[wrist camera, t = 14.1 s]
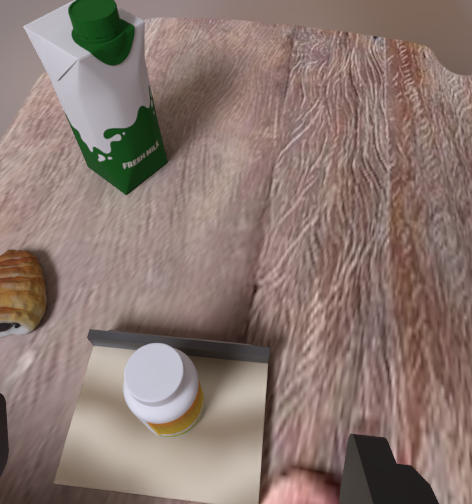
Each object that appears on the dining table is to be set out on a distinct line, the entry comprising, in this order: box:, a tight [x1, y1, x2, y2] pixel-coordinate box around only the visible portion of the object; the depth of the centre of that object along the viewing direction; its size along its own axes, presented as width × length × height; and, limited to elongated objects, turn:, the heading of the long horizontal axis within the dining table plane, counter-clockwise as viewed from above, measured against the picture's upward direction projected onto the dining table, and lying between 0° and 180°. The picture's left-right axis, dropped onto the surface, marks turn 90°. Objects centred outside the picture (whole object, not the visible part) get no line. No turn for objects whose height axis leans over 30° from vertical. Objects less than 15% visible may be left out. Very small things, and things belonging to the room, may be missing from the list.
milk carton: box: [24, 0, 168, 195], centre depth 45 cm, size 9×9×20 cm
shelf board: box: [53, 329, 270, 504], centre depth 36 cm, size 12×16×4 cm
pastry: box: [0, 250, 47, 338], centre depth 42 cm, size 9×7×4 cm
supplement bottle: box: [123, 343, 204, 438], centre depth 32 cm, size 5×5×10 cm
